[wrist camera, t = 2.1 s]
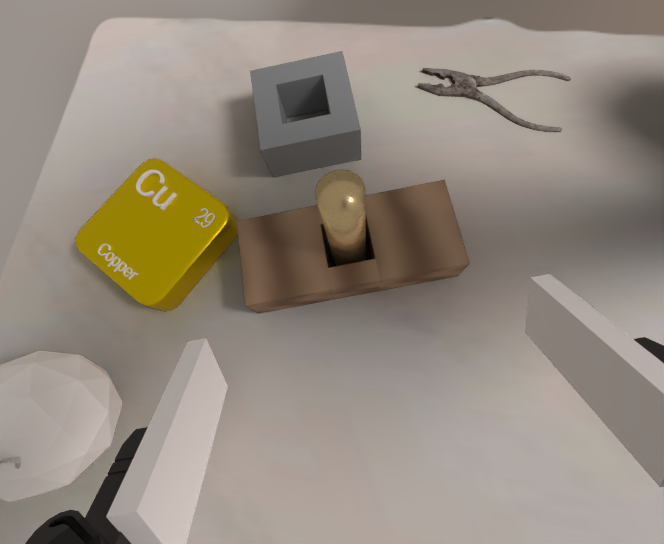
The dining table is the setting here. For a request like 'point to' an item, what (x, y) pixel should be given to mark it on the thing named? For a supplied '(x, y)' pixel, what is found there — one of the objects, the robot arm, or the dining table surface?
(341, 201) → the golden rounded rod
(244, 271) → the beam
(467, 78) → the pliers
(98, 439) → the geodesic sphere
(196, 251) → the element tile
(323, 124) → the seat block
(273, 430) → the dining table surface
